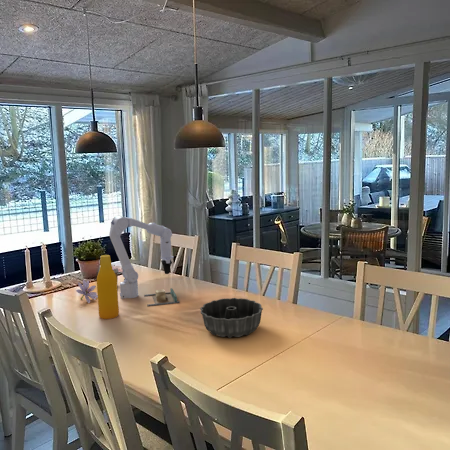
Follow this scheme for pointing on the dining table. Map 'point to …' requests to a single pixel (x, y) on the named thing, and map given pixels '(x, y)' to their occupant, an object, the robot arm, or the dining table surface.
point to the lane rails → (161, 303)
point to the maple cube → (160, 295)
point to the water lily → (87, 291)
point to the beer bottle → (107, 289)
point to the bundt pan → (231, 316)
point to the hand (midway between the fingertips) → (166, 273)
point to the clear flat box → (167, 297)
